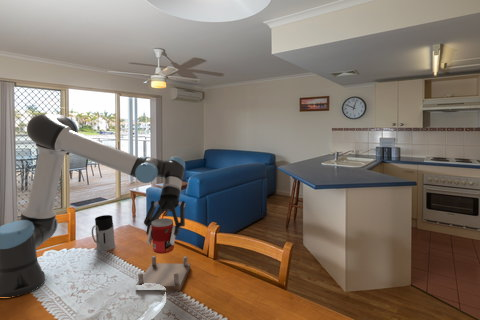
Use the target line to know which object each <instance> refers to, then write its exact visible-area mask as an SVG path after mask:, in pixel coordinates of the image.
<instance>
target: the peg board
mask: <svg viewBox="0 0 480 320" xmlns="http://www.w3.org/2000/svg"><path fill="white" fill-rule="evenodd" d="M182 260H183V263H165V262H164V263H159V262H158V263H157V257H156V255H153V256H151V263H150V265H149V266H148V268H147V269H146V270H145V272H144V273H143V272H140V273H139V272H138V273H137V275H138V276H137V277H138V281H137V282H136V283H135V285H142V284H144V283H156V284H160V285H162V286H164V287H165V288H166V290H167V291H166V292H180V293H181V290H182V287H183V285H184V283H185V281H186V279H187V277H188V275H189V272H190V270H191V263H188V262H189V261H188V256H183V259H182Z"/></svg>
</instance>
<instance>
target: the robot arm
mask: <svg viewBox="0 0 480 320" xmlns="http://www.w3.org/2000/svg"><path fill="white" fill-rule="evenodd" d="M26 133H27V135H28V138H29V139H30V140H31V141H33V143H35V146H36V148H37V150H38V155H37V160H36V165H35V170H34V175H33V178H32V179H33V180H32V184H31V189H30V194H29V198H28V203H27V207H25V208H24V209H22V210H21V214H20V216H19V217H20V219H19V220H14V221H11V222H9V223H5V224H2V225H1V226H0V297H12V296H18V295H21V296H23V295H22V294H24V295H26V294H25V293H27V294H28V292H29V293H31V292H33V291H35V290H37V289H38V288H37V287H39V286H40V285H41V284H42V283H43V282H44V281H46V274H45V271H43V269H42V266H41V265H40V263H39V262H38V255H37V253H38V252H37V248H39V247H40V246H42V244H44V243H45V242H47V240H50V238H52V237H53V235H54V234H55V233H56V231H57V228H58V219H57V218H56V217H57V216H56V215H57V212H56V211H55V209H54V206H55V201H56V197H57V191H58V187H59V183H60V177H61V173H62V168H63V164H64V159H65V155H66V154H68V153H69V154H73V155H75V156H78V157H80V158H83V159H85V160H87V161H88V160H89V161H91V162H94V163H96V164H99V165H102V166H104V167H107V168H110V169H111V170H112V169H113V170H115V171H117V172H121V173H123V174H126V175H128V176H131V177H133V178H136V180H138V182H140V183H141V184H149V183H152V182H154V181H155V180H156V178H158V177H159V178H162V179H164V180H163V184H162V188H161V191H160V196H159V200H157V201H154V200H151V201H150V207H149V210H148V211H147V214H146V215H145V218H144V221H143V224H144V226H145V227H147V228H146V236H147V239H146V244H147V245H149V246H151V245H152V225H151V224H152V221H154V220H156V219H160V217H161V216H162V215H163V214H164V213H165V212H171V214H172V217H173V222H174V224H173V229H172V234H171V239H170V243H171V245H174V246H175V240H176V237H178V236H179V232H180V228H181V227H185V226H186V221H185V218H186V217H185V216H186V215H185V209H186V205H187V204H186V201H185V200H182V201H180V197H181V192H182V191H181V190H182V185H183V178H184V174H185V170H186V169H185V168H186V162H185V160H184V159H183V157H182V158H181V157H180V156H171V157H170V158H169V160H164V159H159V158H155V157H150V156H143V155H142V156H140V157H139V156H138V155H137V156H136V155H134V154H131V153H128V152H126V151H124V150H121V149H118V148H115V147H114V146H110V145H109V144H106V143H103V142H100V141H98V140H95V139H94V138H91V137H89V136H86V135H83V134H80V133H79V130H78V126H77V124H76V122H75V121H74V120H73V119H72V118H70V117H68V116H65V115H62V114H49V113H41V114H38V115H35V116H33V117H32V118H31V119H30V120H29V121H28V122H27V125H26ZM178 206H179V211H180V212H179V216H180V217H179V218H178V215H177V211H176V208H177V207H178ZM157 207H158V208H157ZM156 208H157V210H156ZM179 219H180V221H179ZM44 283H45V282H44ZM44 283H43V284H44ZM43 284H42V285H43ZM42 285H41V286H42ZM41 286H40V287H41ZM40 287H39V288H40ZM36 288H37V289H36ZM34 289H35V290H34ZM32 290H33V291H32ZM30 291H31V292H30ZM18 297H19V296H18Z"/></svg>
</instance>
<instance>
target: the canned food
mask: <svg viewBox="0 0 480 320" xmlns="http://www.w3.org/2000/svg"><path fill="white" fill-rule="evenodd" d="M151 225H152V241H151V243H152V250H153V252H154V253H156V254H159V255H160V254H162V255H163V254H168V253H171V252H173V251H174V249H175V244H174V245H171V243H170V239H171V234H172V229H173V225H174V219H171V218H169V217H168V218H167V217H163V218H159V219H156V220H154V221H152V224H151Z"/></svg>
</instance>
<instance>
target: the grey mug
mask: <svg viewBox="0 0 480 320" xmlns="http://www.w3.org/2000/svg"><path fill="white" fill-rule="evenodd" d="M94 223H95V224H94V225H93V226H92V227H91V228H92V229H91V238H92V239H93V242H94V243H95V244H96V247H95V250H96V251H97V250H98V251H97V252H107V251H110V250H113V249H115V248H116V247H117V245H116V243H115V241H116V240H115V232H114V230H115V229H114V221H113V215H111V214H110V215H109V214H105V215H100V216H96V217H95V218H94ZM94 229H95V235H94Z"/></svg>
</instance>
